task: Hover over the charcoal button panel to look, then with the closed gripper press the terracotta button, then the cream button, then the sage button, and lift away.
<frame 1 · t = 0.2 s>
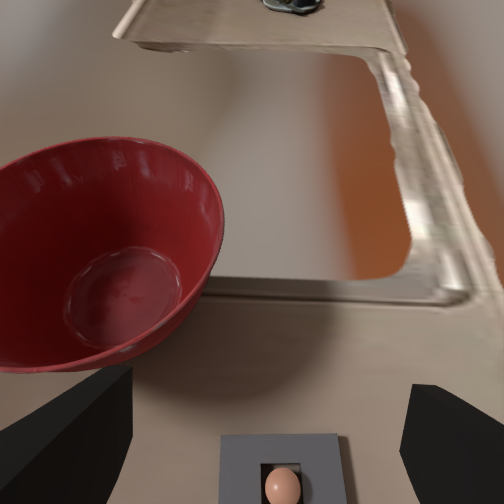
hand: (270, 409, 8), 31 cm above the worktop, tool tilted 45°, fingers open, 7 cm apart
terracotta button: (282, 488, 31), point 2 cm above the worktop, slide at 0.0 cm
salad plate: (293, 5, 101), on the worktop
mixing bowl: (127, 296, 45), on the worktop
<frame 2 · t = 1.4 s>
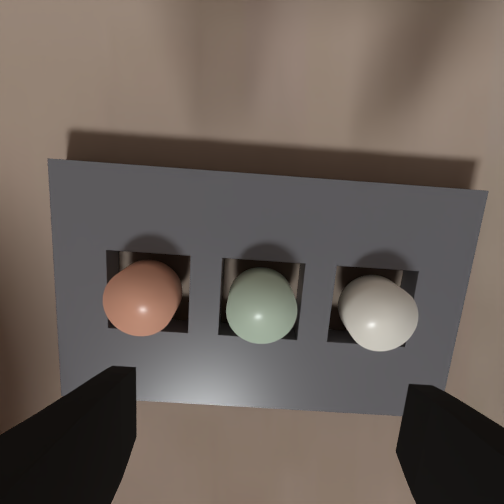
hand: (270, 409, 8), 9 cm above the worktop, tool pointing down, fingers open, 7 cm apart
cream button: (375, 311, 16), point 2 cm above the worktop, slide at 0.0 cm
terracotta button: (144, 296, 16), point 2 cm above the worktop, slide at 0.0 cm
sage button: (261, 304, 16), point 2 cm above the worktop, slide at 0.0 cm
button panel: (259, 290, 18), on the worktop
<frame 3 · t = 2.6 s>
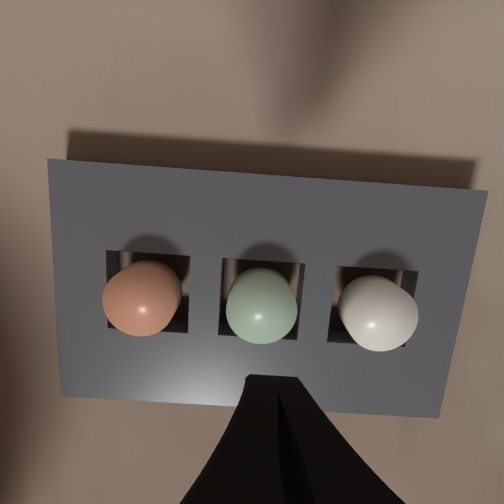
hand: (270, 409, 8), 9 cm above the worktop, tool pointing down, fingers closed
cream button: (375, 311, 16), point 2 cm above the worktop, slide at 0.0 cm
terracotta button: (144, 296, 15), point 2 cm above the worktop, slide at 0.0 cm
sage button: (261, 304, 16), point 2 cm above the worktop, slide at 0.0 cm
button panel: (259, 290, 18), on the worktop
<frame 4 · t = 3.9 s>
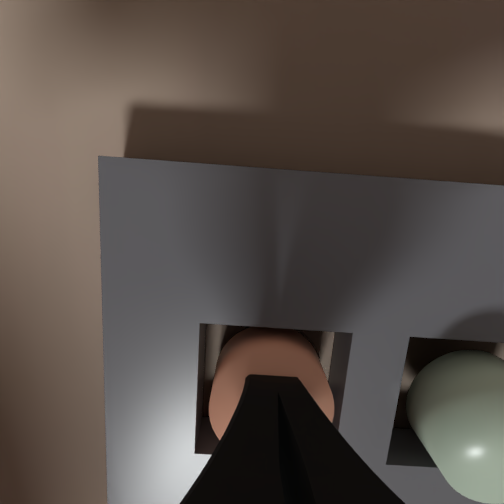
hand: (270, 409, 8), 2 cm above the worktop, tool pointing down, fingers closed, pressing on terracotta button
terracotta button: (269, 390, 9), point 1 cm above the worktop, slide at 0.8 cm, touching gripper
sage button: (482, 422, 9), point 2 cm above the worktop, slide at 0.0 cm
button panel: (438, 376, 11), on the worktop
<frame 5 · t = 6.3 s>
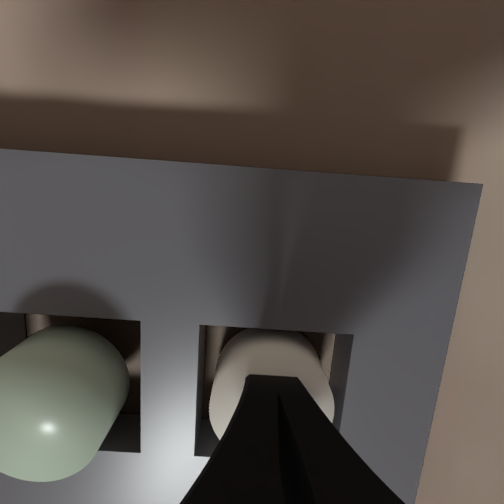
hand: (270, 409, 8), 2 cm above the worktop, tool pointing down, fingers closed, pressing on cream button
cream button: (269, 390, 9), point 1 cm above the worktop, slide at 0.9 cm, touching gripper
sage button: (53, 398, 8), point 2 cm above the worktop, slide at 0.0 cm
button panel: (92, 356, 10), on the worktop
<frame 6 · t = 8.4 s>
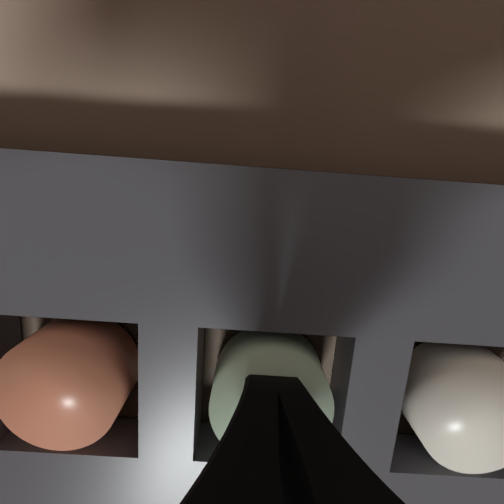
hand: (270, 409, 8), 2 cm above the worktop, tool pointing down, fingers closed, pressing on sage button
cream button: (462, 401, 9), point 1 cm above the worktop, slide at 1.1 cm
terracotta button: (72, 377, 9), point 1 cm above the worktop, slide at 1.1 cm
sage button: (269, 390, 9), point 1 cm above the worktop, slide at 1.0 cm, touching gripper
button panel: (267, 370, 10), on the worktop
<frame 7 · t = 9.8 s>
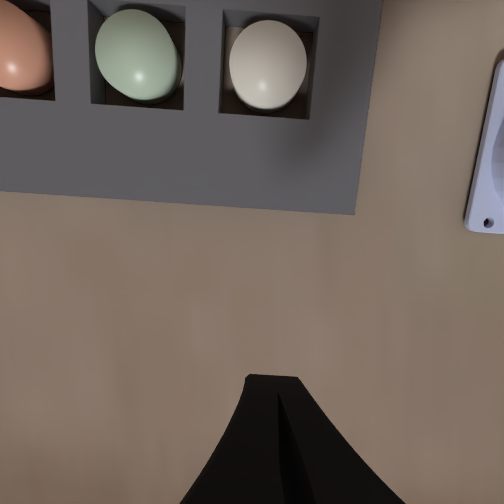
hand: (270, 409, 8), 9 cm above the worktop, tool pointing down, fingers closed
cream button: (267, 70, 14), point 1 cm above the worktop, slide at 1.1 cm
terracotta button: (13, 50, 14), point 1 cm above the worktop, slide at 1.1 cm
sage button: (141, 60, 14), point 1 cm above the worktop, slide at 1.1 cm
button panel: (147, 68, 15), on the worktop
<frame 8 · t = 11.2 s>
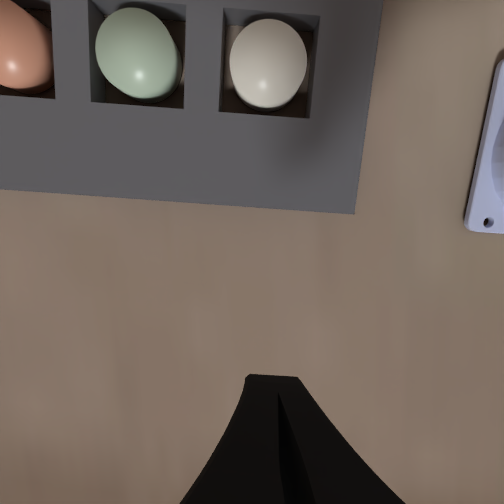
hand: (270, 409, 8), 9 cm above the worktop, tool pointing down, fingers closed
cream button: (267, 69, 14), point 1 cm above the worktop, slide at 1.1 cm
terracotta button: (13, 49, 14), point 1 cm above the worktop, slide at 1.1 cm
sage button: (141, 59, 14), point 1 cm above the worktop, slide at 1.1 cm
button panel: (148, 66, 15), on the worktop
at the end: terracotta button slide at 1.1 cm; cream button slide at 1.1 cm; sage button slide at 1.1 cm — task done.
